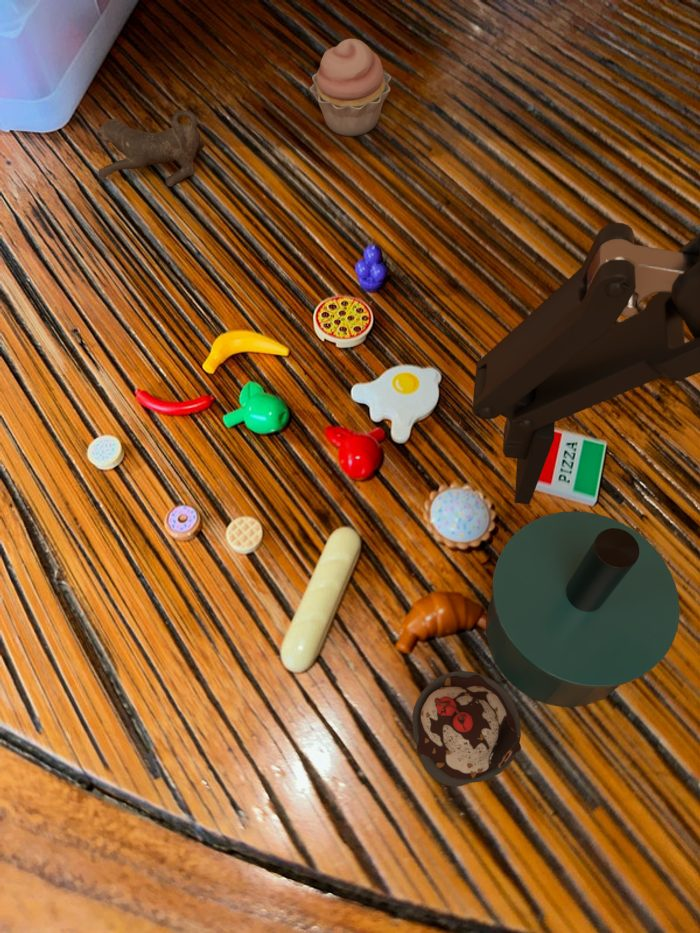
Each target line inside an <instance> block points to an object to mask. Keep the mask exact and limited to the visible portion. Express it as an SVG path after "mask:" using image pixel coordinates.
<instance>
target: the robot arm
mask: <svg viewBox="0 0 700 933" xmlns="http://www.w3.org/2000/svg"><path fill="white" fill-rule="evenodd" d="M650 296H651V298H649V297H650ZM647 298H649V300H648V301H647V304H646V306H645V307H644V309H642V310H641V311H640V312H638V311H639V310H638V305H640V304H641V303H643V301H645V300H646V299H647ZM620 316H621V317H623V318H626V319H624V320H622V321H619V322H617V320H618V319H619V317H620ZM684 323H685V325H686V327H687V329H688V330H689V332H690V335H691V336H692V338H693V339H691V340H689V341H687V342H685V341H686V340H685V328H684ZM699 373H700V232H699V233H698V234H697V235H696V236H695V237H693V239H691V240H690V241H689V242H687V243H686V244H684V245H683V246H682V247H680V249H679V250H678V251H675V250H668V249H664V248H663V249H662V248H657V247H651V246H644V245H638V244H635V233H634V230H633V228H632V227H631V226H630V225H629V224H626V223H623V222H613V223H609V224H606V225H605V226H603V227H602V228H601V229H600V230H599V231H598V232H597V235H596V236H595V238H594V240H593V242H592V244H591V246H590V248H589V250H588V252H587V255H586V256H585V259H584V261H583V263H582V265H581V266H580V268H578V270H577V271H576V272H574V273H573V274H572V275H571V276H570V277H569V278H568V279H567V280H566V281H564V282H563V283H562V284H561V285H560V286H559V287H558V288H557V289H556V290H555V291H554V292H552V294H550V295H549V296H548V297H547V298H546V299H545V300H543V302H541V303H540V304H539V305H538V306H537V307H536V308H535V309H534V310H533V311H532V312H530V313H529V315H527V316H526V317H525V318H524V319H523V320H522V321H521V322H520V323H519V324H518V325H517V326H515V327H514V328H513V329H512V330H511V331H510V332H509V333H508V334H507V335H505V337H503V339H501V340H500V341H499V342H497V344H496V345H495V346H493V348H491V349H490V350H489V351H488V352H487V353H486V354H484V356H483V357H481V358H480V359H479V360H478V361H477V362H476V365H475V374H474V386H473V398H472V409H471V410H472V411H471V412H472V414H473V416H474V417H476V418H477V419H482V420H494V419H496V418H498V417H500V416H502V417H504V418H505V422H504V426H503V440H502V441H503V442H502V452H503V456H504V457H505V458H507V459H516V470H515V472H516V473H515V488H514V489H515V490H514V504H520V505H530V504H531V502H532V500H533V497H534V493H535V491H536V488H537V486H538V483H539V480H540V478H541V475H542V472H543V469H544V467H545V465H546V462H547V459H548V456H549V454H550V451H551V448H552V446H553V443H554V441H555V430H556V422H559V421H562V420H563V419H566V418H568V417H570V416H573V415H575V414H577V413H579V412H582V411H585V410H587V409H590V408H592V407H594V406H596V405H599V404H601V403H603V402H606V401H608V400H611V399H613V398H616V397H618V396H620V395H622V394H624V393H625V394H626V393H627V392H630V391H631V390H634V389H637V388H639V387H642V386H644V385H646V384H649V383H651V382H653V381H656V380H658V379H660V378H663V377H665V378H667V379H668V380H670V381H671V382H679V381H682V380H685V379H687V378H690V377H692V376H695V375H697V374H699Z"/></svg>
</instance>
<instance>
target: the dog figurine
mask: <svg viewBox="0 0 700 933" xmlns="http://www.w3.org/2000/svg"><path fill="white" fill-rule="evenodd" d="M180 117H187V118H188V119H189V122H190V123H189V124H187V125H186V124H180V123H179V119H180ZM171 125H172V127H170V128H168V129H166V130H162V131H159V132H150V131H145V130H140V129H134V128H132V127H129V126H128V125H127V124H126V123H125V122H121V119H120V118H118V117H115V118H111V119H108V120H107V121H105V122H104V123H103V124H102V125H101V126H100V127H99V128H97V133H98V135H101V136H100V138H101V139H102V140H103V141H104V142H106V143H110V144H111V145H113V146H114V147H115V148H116V150H117V151H118V152H120V153H123V154H124V156H125V157H126V158H124V159H120V160H117V161H114V162H113V163H110V164H107V165H105V166H103V167H102V168H99V170H98V174H97V178H99V179H106V178H107V177H108V176H111V175H113V174H114V173H115V172H117V171H121V170H136V169H143V168H146V167H147V166H149V165H151V166H153V165H161V164H162V165H163V164H168V163H171V162H174V161H176V162H177V163H179V164H180V165H181V168H180V169H178V170H177V171H175V172H174V173H172V174H171V175H169V176H167V177H166V179H165V185H166V186H167V187H173V186H174V185H175V184H177V183H180V182H182V181H183V180H185V179H187V178H188V177H191V176H192V175H194V173H195V166H194V160H195V159H196V158H197V155H198V154H199V153H201V150H203V149H204V148H205V145H206V143H205V142H204V141H203V140H201V133H200V131H199V130H198V129H197V127H198V119H197V117H196V115H195V114H194V113H193V112H192V111H190V110H185V109H182V110H179V109H178V110H177V111H176V112H175V113H174V114H173V115H172V118H171Z"/></svg>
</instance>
